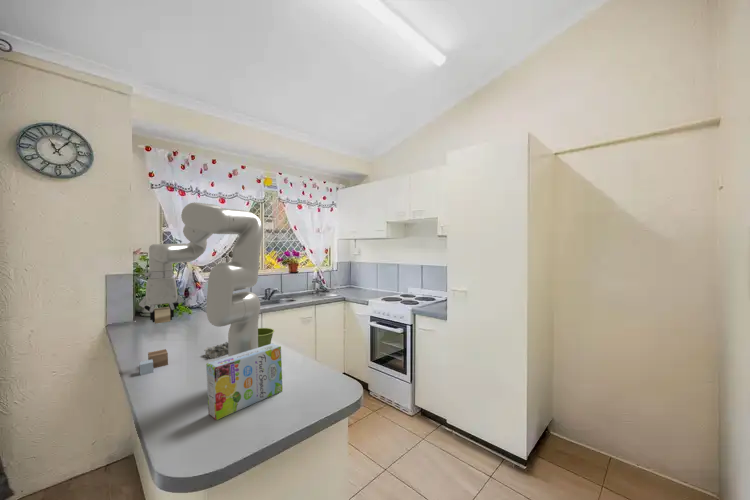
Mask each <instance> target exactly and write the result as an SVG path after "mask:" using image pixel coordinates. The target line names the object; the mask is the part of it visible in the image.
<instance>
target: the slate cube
mask: <svg viewBox="0 0 750 500" xmlns="http://www.w3.org/2000/svg"><path fill="white" fill-rule="evenodd" d="M153 373H154V368H153V359H151V360H148V359H146V360H141V361H139V375H140V376H144V375H148V374H153Z"/></svg>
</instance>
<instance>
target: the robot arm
mask: <svg viewBox="0 0 750 500" xmlns="http://www.w3.org/2000/svg"><path fill="white" fill-rule="evenodd" d="M180 216H181V217H180V218H181V221H182V223H183V224H184V226H183V229H182V233H183V236H184V237H185V239H186V240H188V243H157V244H156V243H154V244H151V245H149V247H148V259H149V260H148V261H149V263H148V264H149V265H148V266H149V270H148V272H145V273H144V277H148V279H147V280H146V285H145V286H146V287H145V296H144V297H143V299H141V300H140V302H139V303H138V306H139V307H141V308H142V309H145V310H146V311H148V312H149V317H150V318H149V319H150V321H152V323H155V312H154V309H155V308H156V307H155V306H156V305H158V306H159V305H169V308H170V321H172V320H173V318H174V317H175V314H174V313H175V309H176V308H177V307H178V306H179V305H180V304H181V303H183V301H184V298H183V297H181V296H180V295H179V294H178V289H177V288H178V286H177V281H176V278H175V277H173V264H178V263H181V264H182V263H191V262H194V261H195V260H197V259H199V257H201V256H202V255H203V254H204V253H205V252H206V249H207V244H208V242H207V240H208V239H209V238H210V237H211V236H213V234H214V235H215V234H216V235H238V236H239V237H238V238H237V240H236V241H235V243H234V245H233V249H232V258H231V261H229V262H220V263H218V264H216V265H215V266H213V267H212V269H211V270H210V272H209V275H208V279H207V295H206V316H207V320H208V322H209V323H210V324H211V325H212V326H213V327H214V326H215V327H218V328H219V327H225V326H229V328H228V334H227V336H228V337H227V342H228V353H227V354H228V357H229V356H233V355H236V354H239V353H243V352H246V351H249V350H252V349H256V348H258V328H259V318H260V313H261V300H260V298H259V296H258V295H257V294H256V293H254V292H252V291H242V290H246V289H247V290H248V289H251V288H253V287H255V286H256V285H257V282H258V278H259V268H260V255H261V246H262V241H263V234H264V228H263V227H264V226H263V223H262V221H261V219H260V218H259V217H258V216H257V215H256V214H255V213H253V212H251V211H247V210H244V209H236V208H226V207H225V208H223V207H222V206H220V205H217V204H214V203H213V204H212V203H205V202H204V203H203V202H194V201H193V202H190V203H188V204H186V205H185V206H184V207H183V209H182V210H181V215H180ZM236 291H239V292H236ZM240 291H241V292H240ZM145 303H146V304H145Z"/></svg>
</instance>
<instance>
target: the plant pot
mask: <svg viewBox="0 0 750 500" xmlns="http://www.w3.org/2000/svg"><path fill="white" fill-rule="evenodd" d="M274 332H275V330H274V329H273V328H271V327H258V348H259V347H262V346H266V345H269V344H272V338H273V334H274Z"/></svg>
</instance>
